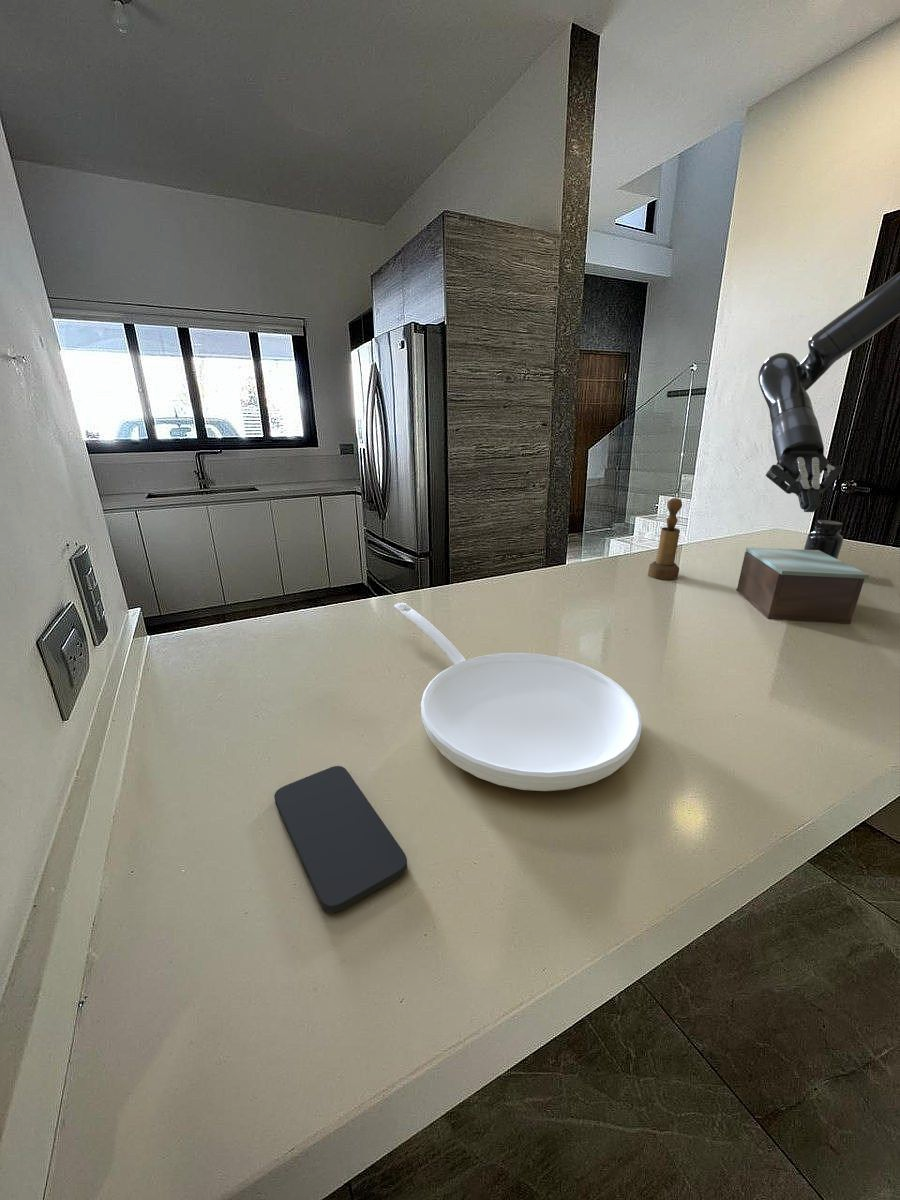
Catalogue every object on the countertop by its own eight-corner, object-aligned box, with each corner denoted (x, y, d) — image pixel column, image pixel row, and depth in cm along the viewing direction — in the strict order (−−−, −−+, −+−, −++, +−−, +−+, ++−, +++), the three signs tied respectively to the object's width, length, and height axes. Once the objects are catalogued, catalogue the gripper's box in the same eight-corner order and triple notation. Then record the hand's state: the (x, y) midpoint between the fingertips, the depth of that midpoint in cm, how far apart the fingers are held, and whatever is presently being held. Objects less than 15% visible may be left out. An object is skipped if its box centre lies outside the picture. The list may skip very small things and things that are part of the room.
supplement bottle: (798, 572, 115) (811, 522, 110) (798, 565, 120) (811, 517, 116) (833, 577, 111) (849, 526, 107) (832, 570, 116) (847, 521, 112)
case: (850, 623, 86) (865, 577, 83) (767, 618, 88) (779, 573, 85) (806, 594, 100) (817, 553, 97) (736, 590, 103) (745, 550, 100)
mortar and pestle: (671, 581, 108) (685, 501, 102) (643, 576, 112) (655, 498, 106) (681, 575, 113) (695, 498, 106) (654, 569, 117) (666, 495, 110)
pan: (517, 853, 41) (521, 794, 39) (329, 656, 75) (325, 619, 73) (684, 746, 54) (694, 698, 52) (460, 620, 88) (460, 588, 86)
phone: (342, 762, 51) (413, 863, 39) (343, 768, 51) (413, 871, 39) (270, 791, 47) (325, 913, 35) (271, 797, 47) (326, 920, 35)
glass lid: (868, 578, 82) (869, 574, 82) (781, 574, 85) (782, 570, 84) (818, 553, 97) (819, 550, 97) (745, 550, 100) (746, 547, 99)
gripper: (768, 423, 93) (782, 496, 86) (845, 423, 91) (865, 498, 84) (751, 450, 100) (763, 520, 93) (822, 450, 98) (839, 522, 91)
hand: (811, 509), depth 88 cm, fingers closed
